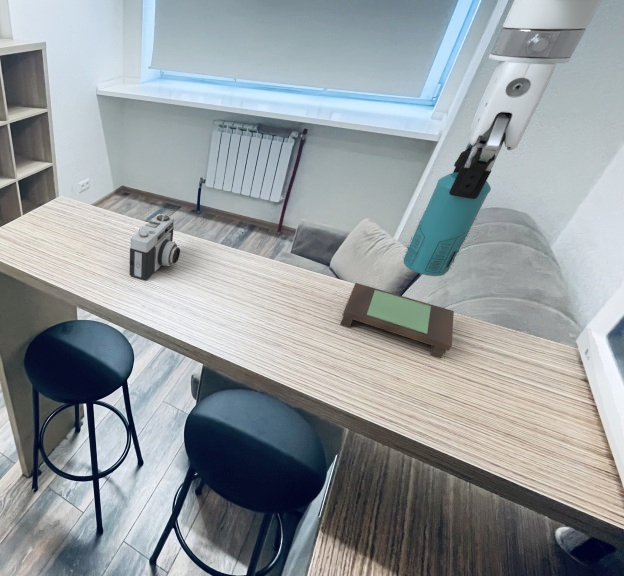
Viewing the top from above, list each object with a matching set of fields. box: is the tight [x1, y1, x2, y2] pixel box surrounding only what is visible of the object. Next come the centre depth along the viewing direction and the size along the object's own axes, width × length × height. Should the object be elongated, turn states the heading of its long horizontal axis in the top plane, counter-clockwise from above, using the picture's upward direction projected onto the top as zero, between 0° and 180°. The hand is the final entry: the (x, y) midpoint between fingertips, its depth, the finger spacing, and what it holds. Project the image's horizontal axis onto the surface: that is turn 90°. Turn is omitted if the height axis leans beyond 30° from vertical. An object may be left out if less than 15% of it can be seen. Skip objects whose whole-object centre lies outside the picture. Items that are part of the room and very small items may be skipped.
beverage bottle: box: [402, 150, 492, 277], centre depth 62 cm, size 6×7×20 cm
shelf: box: [340, 282, 455, 359], centre depth 74 cm, size 16×11×4 cm
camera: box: [129, 213, 181, 281], centre depth 90 cm, size 14×8×10 cm, turn 149°
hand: (463, 187), depth 59 cm, fingers closed on beverage bottle, 6 cm apart
